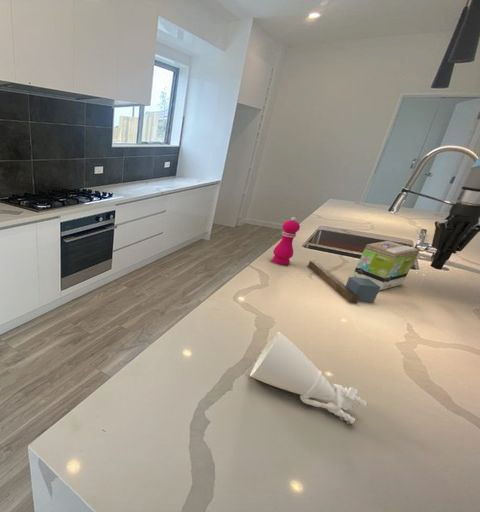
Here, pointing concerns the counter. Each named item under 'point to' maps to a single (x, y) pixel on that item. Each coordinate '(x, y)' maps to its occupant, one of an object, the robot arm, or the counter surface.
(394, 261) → the tea box
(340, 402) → the rocket engine
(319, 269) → the brown wooden stick
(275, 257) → the pepper mill
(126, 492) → the counter surface
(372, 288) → the blue block
